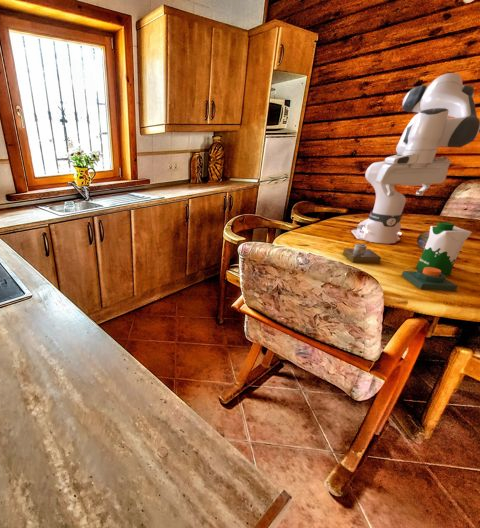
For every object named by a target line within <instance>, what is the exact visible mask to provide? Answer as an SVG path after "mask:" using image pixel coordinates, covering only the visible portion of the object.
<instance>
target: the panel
mask: <svg viewBox="0 0 480 528" xmlns="http://www.w3.org/2000/svg"><path fill="white" fill-rule="evenodd" d="M353 251H354V248H347V247H346V248H344V249H343V252H342V255H343V256H344V257H345V258H347V259H348V260H349V261H350V262H351V263H356V264H380V263H381V260H382V256H380V255H379V254H377V253H376V252H374V251H372V250H371V249H370V248H366V250H365V254H364V255H356V254H354V253H353Z"/></svg>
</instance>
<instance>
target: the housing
mask: <svg viewBox="0 0 480 528" xmlns="http://www.w3.org/2000/svg"><path fill="white" fill-rule="evenodd" d="M422 272H423V269H420V270H418V269H416V270H403V271H402V273H401V277H402V278H404V279H406V280H407V281H408V282H410V283H411V284H413V285H414V286H415V287H417V288H418V289H419V290H428V291H429V290H430V291H444V292H445V291H446V292H456V291H457V290H458V289H457V288H458V284H456V283H454V282H452V281H450V280H449V279H447V278H446V276H445V275H444V274H442V273H440V276H439V277H436V276H429V275H426V274H423V273H422Z"/></svg>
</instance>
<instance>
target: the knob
mask: <svg viewBox="0 0 480 528" xmlns="http://www.w3.org/2000/svg"><path fill="white" fill-rule="evenodd" d="M367 245H368V244H364V243H355V244H354V247H353V249H354V251H353V253H354V254H356V255H364V254H365V250H366V249H367V247H368V246H367Z"/></svg>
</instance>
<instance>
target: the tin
mask: <svg viewBox="0 0 480 528" xmlns="http://www.w3.org/2000/svg"><path fill="white" fill-rule="evenodd" d="M429 233H430V231H424V232H421V233H420V234H418V236H417V238H416V243H417V246H418V247H419V248H420V249H423V250H424V248H425V246H426V243H427V241H428V238H429Z"/></svg>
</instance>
